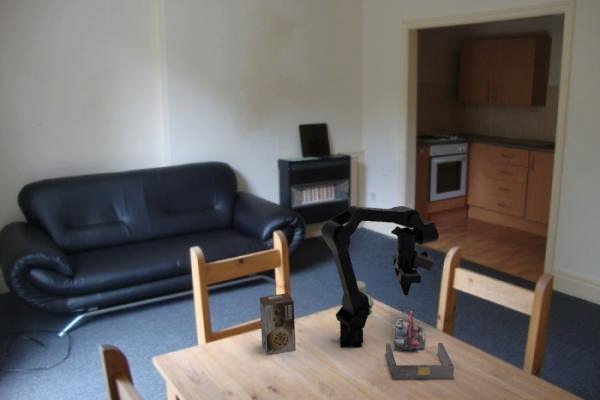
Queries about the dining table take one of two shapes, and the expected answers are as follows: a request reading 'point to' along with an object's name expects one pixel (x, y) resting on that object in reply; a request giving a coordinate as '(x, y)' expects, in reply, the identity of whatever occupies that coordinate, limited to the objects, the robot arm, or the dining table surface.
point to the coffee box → (277, 323)
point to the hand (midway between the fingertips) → (405, 293)
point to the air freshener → (363, 289)
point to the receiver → (421, 367)
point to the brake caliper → (409, 335)
